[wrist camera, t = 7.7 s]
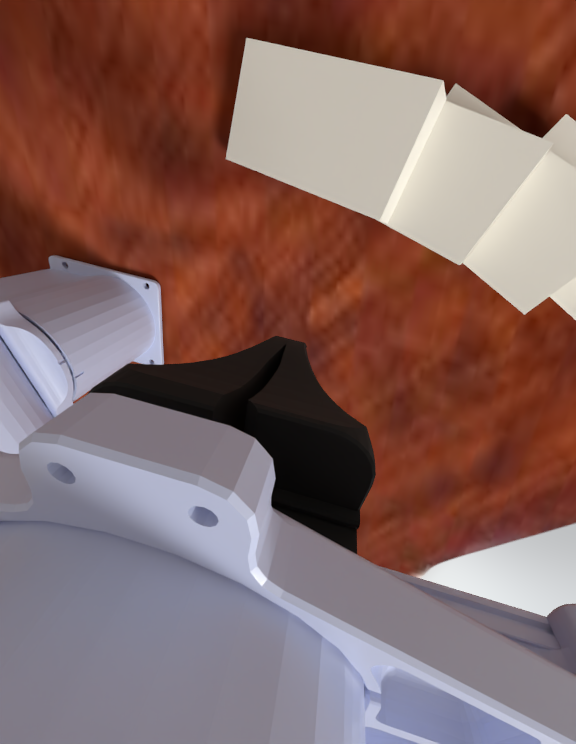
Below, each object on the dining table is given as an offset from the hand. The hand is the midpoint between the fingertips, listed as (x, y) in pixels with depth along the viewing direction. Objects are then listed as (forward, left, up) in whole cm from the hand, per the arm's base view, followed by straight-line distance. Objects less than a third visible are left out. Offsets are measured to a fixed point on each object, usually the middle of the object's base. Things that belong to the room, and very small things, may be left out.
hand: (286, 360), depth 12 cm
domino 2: (-2, +9, -10) cm, 13 cm away
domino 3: (+3, +9, -9) cm, 14 cm away
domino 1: (-6, +9, -10) cm, 15 cm away
